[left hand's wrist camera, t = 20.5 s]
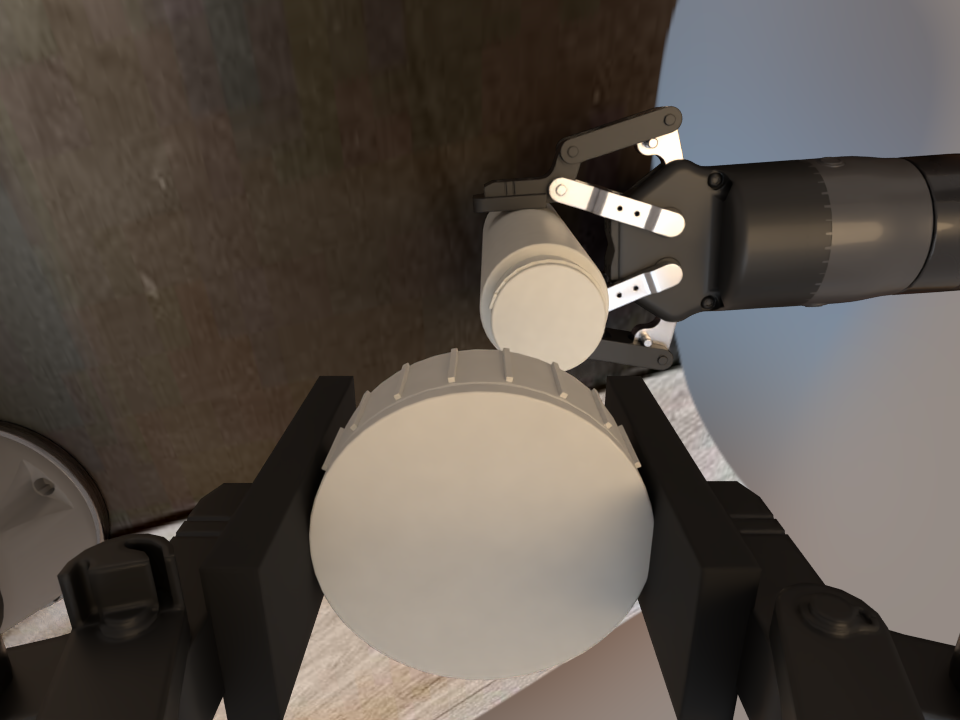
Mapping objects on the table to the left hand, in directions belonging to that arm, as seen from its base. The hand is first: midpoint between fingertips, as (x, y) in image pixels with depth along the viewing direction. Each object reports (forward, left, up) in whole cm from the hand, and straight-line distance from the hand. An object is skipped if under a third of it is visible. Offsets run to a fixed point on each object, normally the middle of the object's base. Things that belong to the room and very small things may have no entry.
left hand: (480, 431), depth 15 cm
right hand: (0, 0, -21) cm, 21 cm away
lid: (0, 0, +4) cm, 4 cm away
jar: (+1, -2, -27) cm, 27 cm away
